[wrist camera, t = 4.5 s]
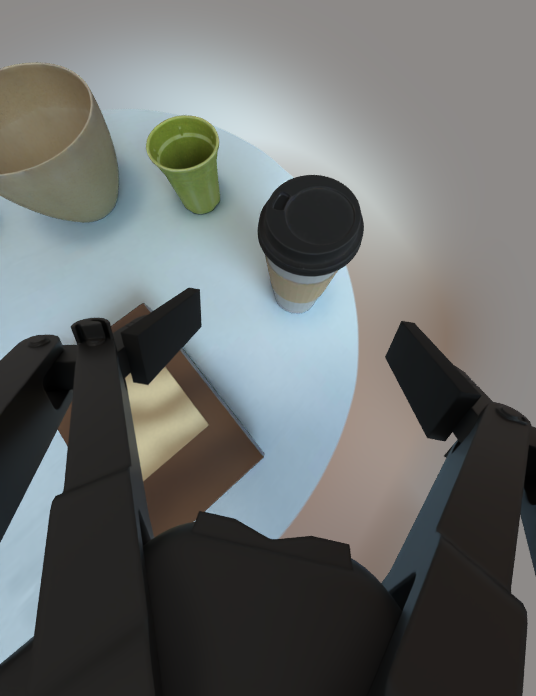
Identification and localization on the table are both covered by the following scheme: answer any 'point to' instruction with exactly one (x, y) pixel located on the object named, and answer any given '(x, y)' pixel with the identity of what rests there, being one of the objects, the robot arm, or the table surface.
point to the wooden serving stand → (183, 440)
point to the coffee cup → (308, 237)
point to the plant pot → (188, 160)
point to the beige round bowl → (55, 144)
